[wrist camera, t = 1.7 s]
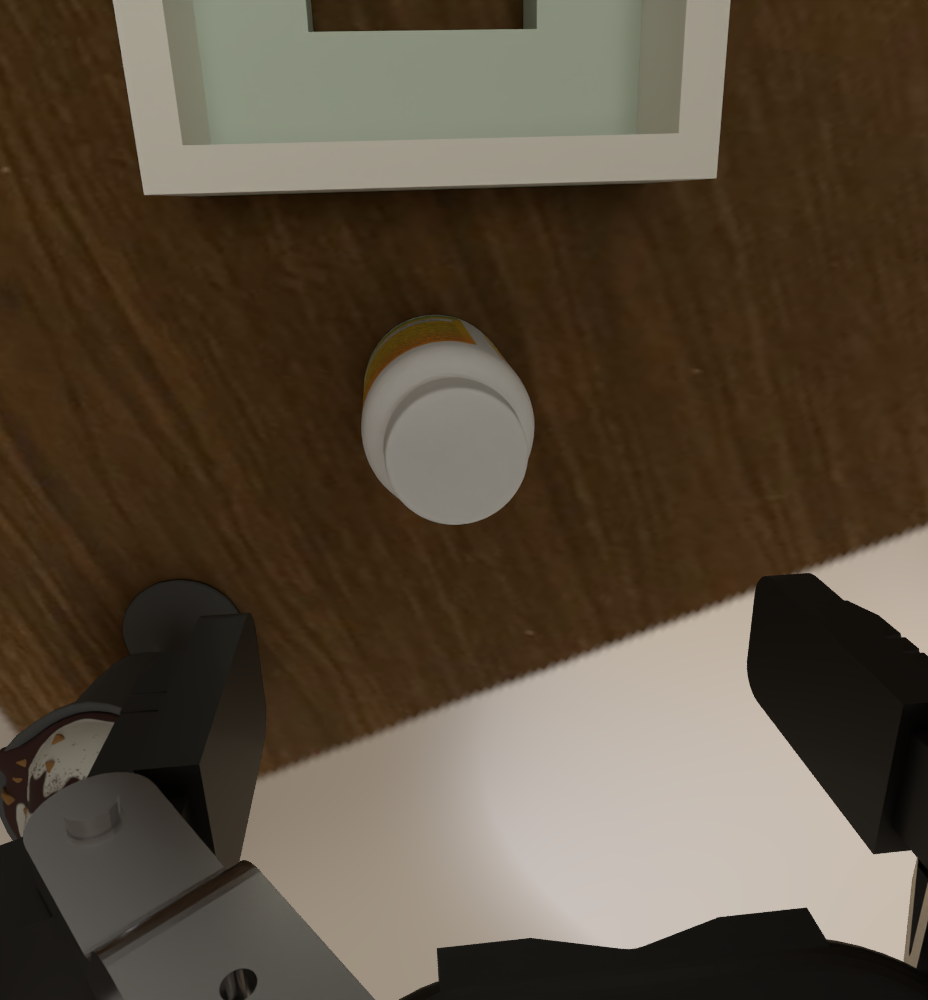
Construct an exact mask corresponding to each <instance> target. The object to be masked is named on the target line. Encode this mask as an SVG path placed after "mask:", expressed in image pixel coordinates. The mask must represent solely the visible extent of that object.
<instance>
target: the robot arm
mask: <svg viewBox="0 0 928 1000" xmlns="http://www.w3.org/2000/svg"><path fill="white" fill-rule="evenodd" d="M747 672H748V679H749V683H750V687H751V690H752V692H753V695H754V697H755V698H756V700H757V702H758V703H759V704H760V706H761V707H762V708H763V710H764V711H765V712H766V714H767V715H768V716H769V717H770V719H771V720H772V721H773V723H774V724H775V725H776V727H777V728H778V729H779V731H780V732H781V733H782V735H783V736H784V737H785V739H786V740H787V741H788V742H789V744H790V745H791V746H792V748H793V749H794V750H795V752H796V753H797V754H798V756H799V757H800V758H801V760H802V761H803V762H804V763H805V765H806V766H807V767H808V769H809V770H810V771H811V773H812V774H813V775H814V777H815V778H816V779H817V781H818V782H819V783H820V785H821V786H822V787H823V789H824V790H825V791H826V792H827V794H828V795H829V796H830V798H831V799H832V800H833V802H834V803H835V804H836V806H837V807H838V808H839V810H840V811H841V812H842V814H843V815H844V816H845V817H846V819H847V820H848V821H849V823H850V824H851V825H852V827H853V828H854V829H855V830H856V832H857V833H858V835H859V836H860V837H861V839H862V840H863V841H864V842H865V844H866V845H867V846H868V848H869V849H870V850H871V852H872V853H873V854H880V853H889V852H899V851H908V850H912V852H913V853H914V854H915V855H916V856H917V861H916V865H915V870H914V874H913V879H912V887H911V896H910V906H909V916H908V925H907V935H906V945H905V955H904V962H902V961H900V960H898V959H895V958H893V957H890V956H888V955H885V954H883V953H880V952H876V951H874V950H870V949H867V948H864V947H861V946H857V945H853V944H848V943H843V942H839V941H834V940H826V939H825V937H824V935H823V934H822V932H821V930H820V929H819V927H818V925H817V924H816V922H815V920H814V919H813V917H812V915H811V914H810V912H809V911H808V909H807V908H799V909H790V910H781V911H772V912H763V913H754V914H745V915H735V916H727V917H718V918H716V919H713V920H710V921H708V922H705V923H703V924H700V925H698V926H695V927H692V928H690V929H687V930H685V931H682V932H679V933H677V934H674V935H672V936H669V937H667V938H664V939H661V940H659V941H656V942H654V943H651V944H648V945H646V946H643V947H640V948H636V949H618V948H609V947H600V946H592V945H584V944H576V943H568V942H559V941H551V940H543V939H534V938H527V939H518V940H508V941H499V942H491V943H482V944H473V945H464V946H454V947H445V948H437V959H438V976H439V981H438V982H435V983H432V984H430V985H427V986H425V987H422V988H420V989H418V990H416V991H415V992H413V993H411V994H409V995H407V996H405V997H403V998H401V999H399V1000H928V656H927V655H926V654H925V653H920V652H919V648H917V647H916V646H915V645H914V644H913V643H911V642H910V641H909V640H908V639H907V638H905V637H902V638H901V634H900V633H899V632H898V631H897V630H896V629H894V628H893V627H892V626H891V625H890V624H888V623H887V622H886V621H885V620H884V619H882V618H881V617H880V616H879V615H877V614H875V613H872V612H870V611H868V610H866V609H864V608H862V607H859V606H858V605H855V604H853V603H851V602H849V601H844V600H843V599H841V598H840V597H839V596H838V595H837V594H836V593H835V592H833V591H832V590H831V589H830V588H829V587H828V586H826V585H825V584H824V583H823V582H822V581H821V580H819V579H818V578H817V577H816V576H814V575H813V574H810V573H803V574H789V575H776V576H764V577H762V578H761V579H760V580H759V581H758V584H757V586H756V590H755V597H754V605H753V614H752V623H751V632H750V640H749V649H748V658H747ZM265 734H266V704H265V695H264V688H263V681H262V673H261V666H260V659H259V652H258V645H257V637H256V630H255V624H254V620H253V617H252V615H251V613H237V614H223V615H209V616H200V618H199V619H198V621H197V623H196V626H195V628H194V630H193V633H192V635H191V637H190V640H189V642H188V644H187V647H186V649H185V650H172V651H164V652H163V653H162V654H161V655H159V656H158V657H157V658H156V659H155V660H153V661H152V662H151V663H150V664H149V665H148V666H146V667H145V668H144V669H143V670H142V671H140V673H139V675H138V677H137V679H136V681H135V683H134V685H133V687H132V689H131V691H130V693H129V698H127V699H126V701H125V703H124V705H123V707H122V709H121V711H120V717H118V718H117V719H116V721H115V723H114V725H113V727H112V729H111V731H110V733H109V735H108V737H107V739H106V740H105V742H104V744H103V746H102V748H101V750H100V752H99V754H98V756H97V758H96V760H95V762H94V764H93V766H92V768H91V770H90V772H89V774H88V776H87V778H86V779H82V780H80V781H78V782H75V783H73V784H71V785H69V786H67V787H65V788H63V789H61V790H60V791H58V792H57V793H55V794H54V795H52V796H51V797H49V798H48V799H47V800H46V801H44V802H43V803H42V804H41V805H40V806H39V807H38V808H37V809H36V810H35V812H34V813H33V814H32V816H31V817H30V818H29V820H28V822H27V824H26V826H25V829H24V833H23V837H21V838H19V839H16V840H14V841H11V842H8V843H6V844H3V845H0V1000H375V999H374V998H373V997H372V996H371V995H370V994H369V992H368V991H367V990H366V989H365V988H364V987H363V986H362V985H361V983H359V981H358V980H357V979H356V978H355V977H354V976H353V975H352V973H351V972H350V971H349V970H348V969H347V968H346V967H345V965H344V964H343V963H342V962H341V961H340V960H339V959H338V958H337V957H336V955H335V954H334V953H333V952H332V951H331V950H330V949H329V948H328V947H327V946H326V944H325V943H324V942H323V941H322V940H321V939H320V937H319V936H318V935H317V934H316V933H315V932H314V931H313V930H312V929H311V927H310V926H309V925H308V924H307V923H306V922H305V921H304V920H303V918H302V917H301V916H300V915H299V914H298V913H297V912H296V911H295V909H294V908H293V907H292V906H291V905H290V904H289V903H288V902H287V901H286V899H285V898H284V897H283V896H282V895H281V894H280V893H279V892H278V891H277V889H276V888H275V887H274V886H273V885H272V884H271V883H270V882H269V881H268V879H267V878H266V877H265V876H264V875H263V874H262V873H261V871H260V870H259V869H257V867H256V866H254V865H253V864H252V863H251V862H249V861H246V860H242V861H240V856H241V851H242V846H243V842H244V837H245V832H246V827H247V823H248V818H249V813H250V808H251V804H252V799H253V794H254V789H255V785H256V780H257V775H258V770H259V766H260V761H261V756H262V751H263V747H264V742H265ZM239 861H240V862H239Z"/></svg>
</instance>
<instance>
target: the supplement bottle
mask: <svg viewBox="0 0 928 1000" xmlns="http://www.w3.org/2000/svg"><path fill="white" fill-rule="evenodd" d="M361 433H362V441H363V447H364V450H365V454H366V457H367V460H368V462H369V464H370V466H371V468H372V470H373V472H374V473H375V475H376V477H377V478H378V479H379V481H380V482H381V483H382V484H383V485H384V486H385V487H386V488H387V489H388V490H389V491H390V492H391V493H392V494H393V495H395V496H396V497H397V498H399V499H400V500H401V501H402V502H403V503H404V505H406V506H407V507H408V508H409V509H410V510H412V511H413V512H414V513H416V514H418V515H419V516H421V517H423V518H425V519H428V520H430V521H433V522H437V523H442V524H451V525H460V524H468V523H472V522H476V521H479V520H482V519H484V518H487V517H489V516H491V515H492V514H494V513H496V512H497V511H498V510H500V509H501V508H502V507H503V506H505V505H506V504H507V503H508V502H509V501H510V500H511V498H512V497H513V496H514V495H515V493H516V492H517V490H518V488H519V487H520V485H521V483H522V481H523V478H524V476H525V472H526V468H527V462H528V458H529V455H530V452H531V448H532V444H533V438H534V415H533V409H532V405H531V402H530V399H529V396H528V394H527V391H526V389H525V387H524V385H523V384H522V382H521V380H520V378H519V377H518V375H517V374H516V373H515V371H514V370H513V369H512V368H511V367H510V365H509V364H508V363H507V361H506V360H505V359H504V358H503V356H502V355H501V354H500V352H499V351H498V350H497V348H496V347H495V346H494V344H493V343H492V342H491V341H490V340H489V339H488V338H487V337H486V336H485V335H484V334H483V333H482V332H481V331H480V330H478V329H477V328H476V327H474V326H473V325H471V324H469V323H467V322H465V321H463V320H461V319H458V318H455V317H450V316H445V315H425V316H420V317H415V318H412V319H410V320H407V321H405V322H403V323H401V324H399V325H398V326H396V327H395V328H393V329H392V330H391V331H390V332H388V333H387V334H386V335H385V336H384V337H383V338H382V340H381V341H380V342H379V343H378V345H377V346H376V348H375V349H374V351H373V353H372V355H371V357H370V359H369V362H368V365H367V368H366V373H365V379H364V394H363V408H362V420H361Z"/></svg>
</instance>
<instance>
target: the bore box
mask: <svg viewBox="0 0 928 1000" xmlns="http://www.w3.org/2000/svg"><path fill="white" fill-rule="evenodd" d="M113 4H114V11H115V17H116V23H117V29H118V36H119V42H120V48H121V54H122V60H123V67H124V73H125V79H126V85H127V92H128V98H129V104H130V110H131V116H132V123H133V129H134V135H135V141H136V147H137V154H138V160H139V166H140V172H141V179H142V185H143V191H144V195H167V196H225V195H259V194H293V193H327V192H362V191H396V190H430V189H464V188H498V187H532V186H566V185H600V184H634V183H655V182H670V181H684V180H698V179H713V178H716V177H717V164H718V151H719V139H720V126H721V113H722V101H723V88H724V75H725V63H726V50H727V37H728V25H729V12H730V0H523V29H502V30H425V31H348V32H313V20H312V8H311V0H113Z"/></svg>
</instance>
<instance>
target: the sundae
mask: <svg viewBox="0 0 928 1000" xmlns="http://www.w3.org/2000/svg"><path fill="white" fill-rule="evenodd" d="M237 613H239V612H238V611H237V609H236V608H235V606H234V605H233V604H232V602H231V601H230V600H229V599H228V598H227V597H226V596H225V595H223V594H222V593H220V592H219V591H217V590H216V589H214V588H212V587H210V586H208V585H206V584H202V583H199V582H195V581H189V580H170V581H165V582H160V583H157V584H155V585H153V586H151V587H149V588H147V589H145V590H144V591H142V592H141V593H139V594H138V595H137V596H136V598H135V599H134V600H133V601H132V602H131V604H130V605H129V607H128V609H127V610H126V613H125V617H124V621H123V635H124V640H125V643H126V646H127V648H128V651H129V653H130V654H131V655H129V656H126V657H124V658H123V659H121V660H120V661H118V662H117V663H115V664H114V665H112V666H111V667H110V668H109V669H108V670H107V671H105V672H104V673H103V674H102V675H101V676H99V677H98V678H97V679H96V680H95V681H94V682H93V683H92V684H91V685H90V686H89V688H88V689H87V690H86V691H85V692H84V693H83V694H82V695H81V697H80V698H79V699H78V700H77V701H76V702H74V703H72V704H69V705H66V706H64V707H61V708H58V709H56V710H54V711H52V712H50V713H49V714H47V715H45V716H44V717H42V718H41V719H39V720H37V721H36V722H34V723H33V724H31V725H30V726H29V727H27V728H26V729H25V730H23V731H22V732H21V733H19V734H18V735H17V736H16V737H15V738H14V739H13V740H12V742H11V743H10V744H9V745H8V746H7V747H4V748H2V749H1V750H0V817H1V820H2V822H3V824H4V826H5V828H6V830H7V832H8V834H9V836H10V837H11V838H12V840H13V841H14V840H16V839H19V838H21V837H23V833H24V829H25V826H26V824H27V822H28V820H29V818H30V817H31V816H32V814H33V813H34V812H35V810H36V809H37V808H38V807H39V806H40V805H41V804H42V803H43V802H44V801H46V800H47V799H48V798H49V797H51V796H52V795H54V794H55V793H57V792H58V791H60V790H61V789H63V788H65V787H67V786H69V785H71V784H73V783H75V782H78V781H80V780H82V779H86V778H87V776H88V774H89V772H90V770H91V768H92V766H93V764H94V762H95V760H96V758H97V756H98V754H99V752H100V750H101V748H102V746H103V744H104V742H105V740H106V739H107V737H108V735H109V733H110V731H111V729H112V727H113V725H114V723H115V721H116V719H117V718H118V717H120V711H121V709H122V707H123V705H124V703H125V701H126V699H127V698H129V693H130V691H131V689H132V687H133V685H134V683H135V681H136V679H137V677H138V675H139V673H140V671H142V670H143V669H144V668H145V667H146V666H148V665H149V664H150V663H151V662H152V661H153V660H155V659H156V658H157V657H158V656H159V655H161V654H162V653H163V652H164V651H172V650H185V649H186V647H187V644H188V642H189V640H190V637H191V635H192V633H193V630H194V628H195V626H196V623H197V621H198V619H199V618H200V616H209V615H223V614H237Z"/></svg>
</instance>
